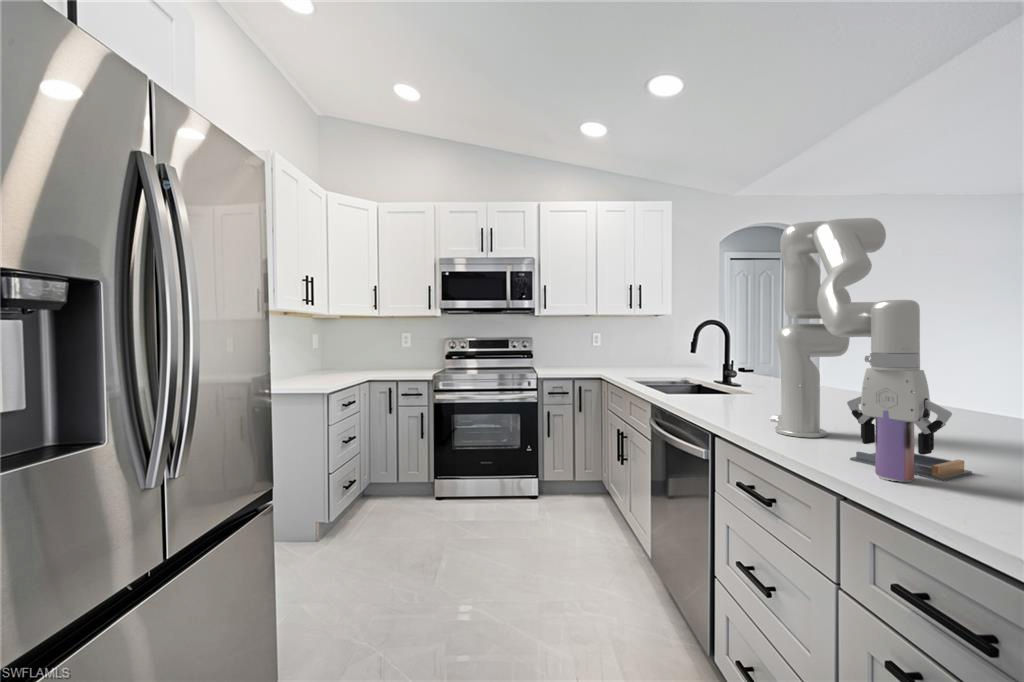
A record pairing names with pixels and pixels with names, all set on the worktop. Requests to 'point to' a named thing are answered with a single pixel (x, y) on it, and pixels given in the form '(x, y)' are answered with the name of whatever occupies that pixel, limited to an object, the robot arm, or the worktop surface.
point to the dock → (925, 466)
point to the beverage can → (894, 449)
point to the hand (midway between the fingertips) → (895, 448)
